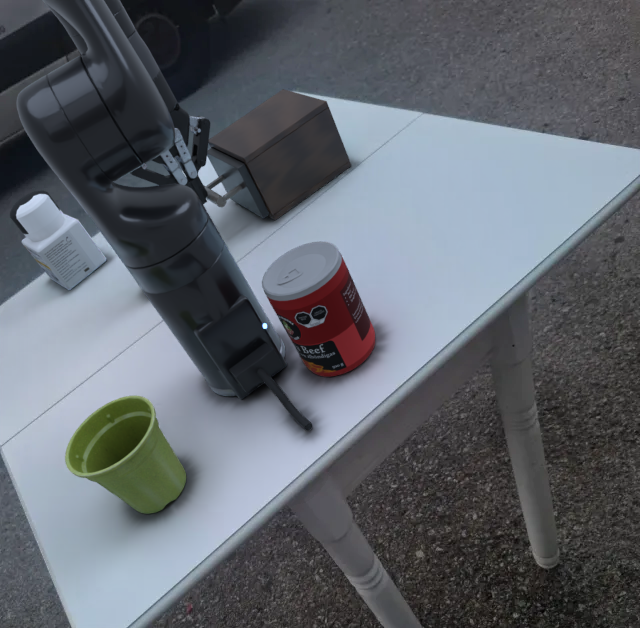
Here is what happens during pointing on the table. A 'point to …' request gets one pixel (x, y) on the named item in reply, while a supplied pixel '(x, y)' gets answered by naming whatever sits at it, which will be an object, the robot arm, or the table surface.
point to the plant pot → (127, 454)
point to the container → (56, 239)
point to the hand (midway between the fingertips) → (201, 203)
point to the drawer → (234, 183)
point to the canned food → (320, 308)
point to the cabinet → (286, 148)
